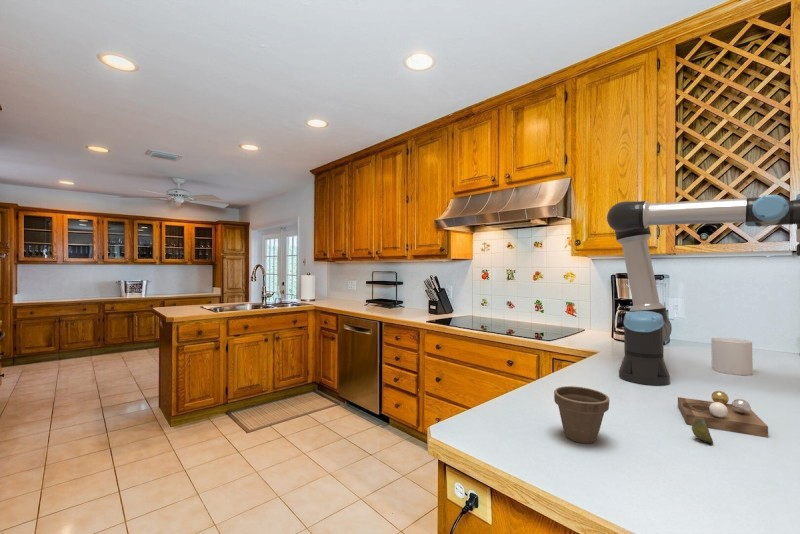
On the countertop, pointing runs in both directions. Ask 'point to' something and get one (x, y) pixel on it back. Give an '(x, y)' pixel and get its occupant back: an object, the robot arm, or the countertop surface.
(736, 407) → the steel ball
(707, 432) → the lime
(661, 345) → the robot arm
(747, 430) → the board
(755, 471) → the countertop surface
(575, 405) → the flower pot
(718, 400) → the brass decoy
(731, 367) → the cup
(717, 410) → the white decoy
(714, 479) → the countertop surface
